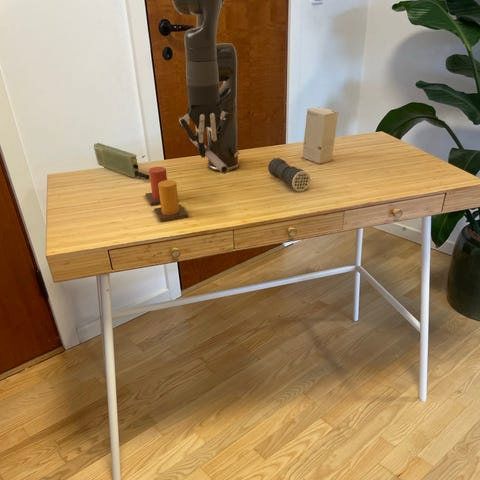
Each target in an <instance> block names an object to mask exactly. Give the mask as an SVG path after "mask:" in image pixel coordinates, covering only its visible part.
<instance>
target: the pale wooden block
mask: <svg viewBox="0 0 480 480" xmlns="http://www.w3.org/2000/svg"><path fill="white" fill-rule="evenodd" d="M338 117H339V112H338V111H335V110H332V109H329V108H326V107H322V106H317V107H311V108H307V109H306V117H305V127H304V136H303V137H304V138H303V144H302V145H303V146H302V154H301V157H302V159H305V160H308V161H311V162H314V163H316V164H319V165H320V164H324V163H327V162H331V161H332V160H333V153H334V145H335V140H336V139H335V138H336V131H337V124H338Z"/></svg>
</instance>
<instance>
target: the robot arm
mask: <svg viewBox="0 0 480 480" xmlns="http://www.w3.org/2000/svg"><path fill="white" fill-rule="evenodd" d="M225 2H226V0H172V4H173V6H174V9H175V10H176V11H177V12H178V13H179V14H180V15H182V16H196V27H193V28H189V29H187V30H186V31H185V32H184V40H183V41H184V51H185V77H186V88H187V90H186V91H187V103H188V108H187V110H186V114H185V115H183V116H179V117H178V120H177V121H178V122H179V124H180V126H181V127H182V128H183V130H184V132H185V133H186V135H187V136H188V138H189V140H190V139H191V140H192V141H196V142H197V147H196V148H197V154H198V155H199V156H200V157H201V158H206V156H205V145H206V144H207V145H206V146H207V147H208V148H209V149H210V150H211V151H212V152H213V153H214V154H215V155H216V156H217V157H218V158H219V159H220V160H221V161H222V162H223V163H224V164H225V165H226V166H227V167H228V172H229V171H233V170H235V169H237V168H239V155H240V151H239V147H238V146H239V145H238V143H239V142H238V109H237V108H238V106H237V105H238V104H237V99H238V98H237V97H238V94H237V93H238V92H237V91H238V89H237V87H238V85H237V83H238V81H237V80H238V55H237V49H236V48H235V46H234V44H233V43H230V42H222V43H221V42H220V43H217V31H218V24H219V17H220V13H221V9H222V8H223V5H224V3H225ZM220 83H222V85H221V86H220ZM190 120H191V121H192V122H193V123H194V125H195V133H194V131H193V130H192V129H191V127H190V126H189V125H190V124H191V122H190ZM205 129H206V142H207V143H206V144H205V142H204V134H205ZM191 140H190V141H191ZM204 144H205V145H204ZM207 161H208V164H207V165H208V166H207V167H208V169H210V170H211V171H215V172H220V171H219V170H218V168H217V167H216V166H215V165H214V164H213V163H212V162H211V161H210V160H209V159H208V158H207Z"/></svg>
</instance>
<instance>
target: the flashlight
mask: <svg viewBox="0 0 480 480" xmlns="http://www.w3.org/2000/svg"><path fill="white" fill-rule="evenodd" d="M267 169H268V172H269V174H270V175H271V176H273V177H275V178H277V179H279V180H282V181H283V182H284V183H285V184H286V185H288V187H290V188H291V189H293V191H295V192H303V191H306V189H307V188H308V187H309V186H310V183H311V176H310V173H308V172H307V171H305V170H303V169H302V168H298V167H296V166H291V165H289V164H288V163H287V162H286V161H285V160H284V159H282V158H280V157H277V158H273V159H271V160H270V161H269V162H268V165H267Z"/></svg>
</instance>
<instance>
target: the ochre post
mask: <svg viewBox="0 0 480 480" xmlns="http://www.w3.org/2000/svg"><path fill="white" fill-rule="evenodd" d="M177 185H178V184H177V181H175V180H171V179H167V180H165V181H161V182H159V183H158V188H159V195H160V203H161V204H160V206H159V207H155V208H153V211H154V213H155V215H156V217H157V218H158V220H159V222H160V223H163V222H169V221H174V220H180V219H185V218H189V215H188V213H187V211H186V210H185V208H184V207H183V206H182V204H181V203H180V202H179V195H178V187H177Z"/></svg>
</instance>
